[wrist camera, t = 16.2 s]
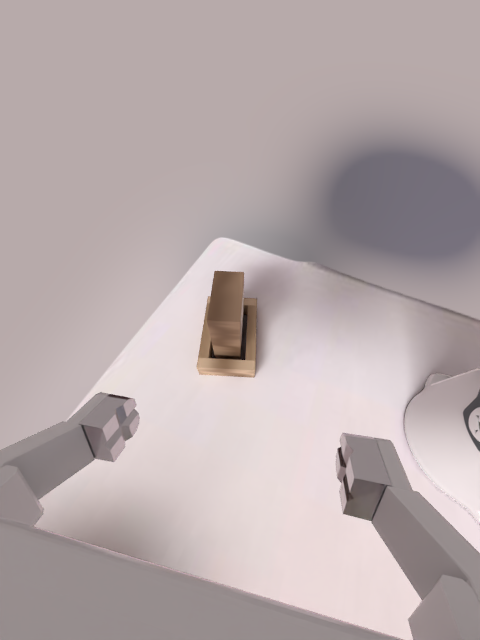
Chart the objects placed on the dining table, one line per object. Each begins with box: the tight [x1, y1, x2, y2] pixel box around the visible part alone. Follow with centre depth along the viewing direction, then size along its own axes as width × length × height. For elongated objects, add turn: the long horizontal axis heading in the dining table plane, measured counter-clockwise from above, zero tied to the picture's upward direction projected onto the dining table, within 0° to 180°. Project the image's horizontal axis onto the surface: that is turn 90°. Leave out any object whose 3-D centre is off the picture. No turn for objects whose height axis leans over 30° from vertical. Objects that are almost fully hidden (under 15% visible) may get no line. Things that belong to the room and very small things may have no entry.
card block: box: [207, 271, 244, 360], centre depth 36 cm, size 4×8×12 cm, turn 176°
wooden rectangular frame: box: [197, 296, 257, 377], centre depth 39 cm, size 8×13×3 cm, turn 177°
